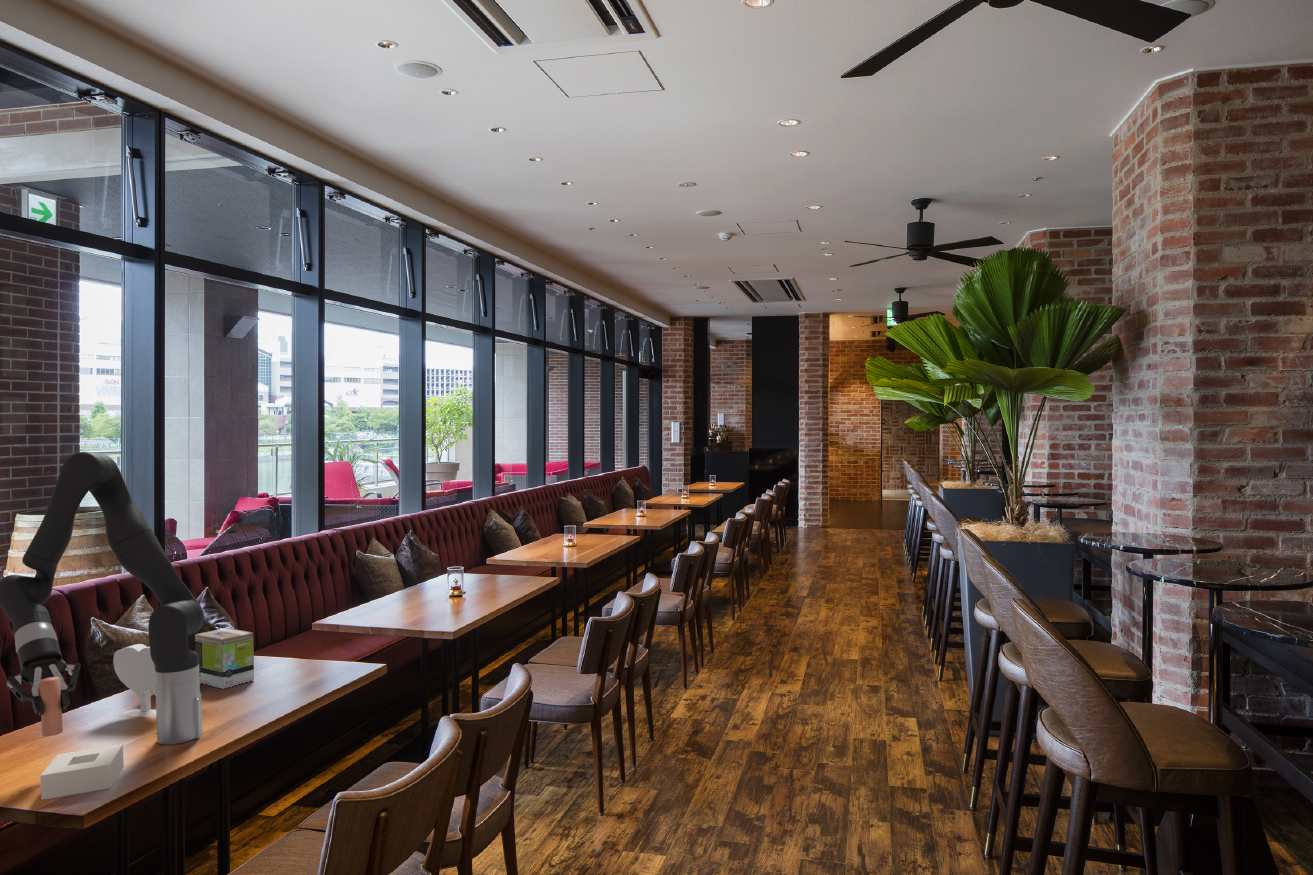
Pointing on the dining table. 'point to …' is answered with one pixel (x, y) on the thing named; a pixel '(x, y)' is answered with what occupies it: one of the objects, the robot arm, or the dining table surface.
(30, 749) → the dining table surface
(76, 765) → the block
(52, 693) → the pin
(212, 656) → the tea box
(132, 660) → the heart sculpture
